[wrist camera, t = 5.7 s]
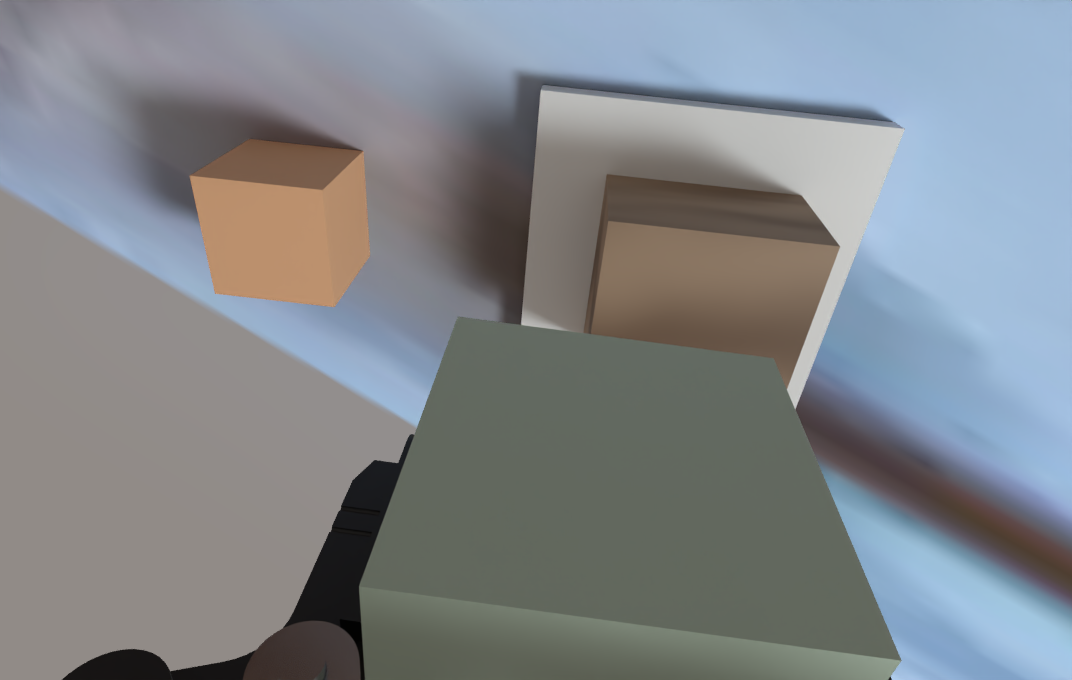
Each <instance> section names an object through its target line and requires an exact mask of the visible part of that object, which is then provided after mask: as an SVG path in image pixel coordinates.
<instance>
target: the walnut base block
mask: <svg viewBox="0 0 1072 680" xmlns="http://www.w3.org/2000/svg"><path fill="white" fill-rule="evenodd" d="M839 249H840V246H839V244H838V243H837V242H836V240H835V239H834V238H833V236H832V235H831V234H830V232H829V231H828V230H827V228H826V227H825V226H824V224H823V223H822V222H821V220H820V219H819V218H818V216H817V215H816V214H815V212H814V211H813V210H812V208H811V207H810V206H809V204H808V203H807V202H806V200H805V199H804V198H803V196H802V195H793V194H784V193H775V192H766V191H757V190H747V189H738V188H729V187H720V186H711V185H702V184H692V183H683V182H674V181H665V180H656V179H647V178H637V177H628V176H619V175H610V174H607V176H606V183H605V190H604V196H603V203H602V210H601V217H600V224H599V230H598V237H597V244H596V251H595V258H594V264H593V271H592V278H591V285H590V291H589V298H588V305H587V312H586V319H585V325H584V332H583V333H586V334H593V335H601V336H608V337H616V338H624V339H631V340H639V341H646V342H654V343H661V344H669V345H677V346H684V347H692V348H699V349H707V350H714V351H722V352H729V353H737V354H745V355H752V356H760V357H767V358H774V360H775V363H776V365H777V368H778V370H779V372H780V375H781V377H782V379H783V382H784V384H785V387H786V389H787V388H788V385H789V383H790V380H791V377H792V375H793V372H794V369H795V367H796V364H797V361H798V358H799V356H800V353H801V350H802V348H803V345H804V342H805V340H806V337H807V334H808V332H809V329H810V326H811V324H812V321H813V318H814V316H815V313H816V310H817V308H818V305H819V302H820V300H821V297H822V294H823V292H824V289H825V286H826V284H827V281H828V278H829V276H830V273H831V270H832V267H833V265H834V262H835V259H836V257H837V254H838V251H839Z"/></svg>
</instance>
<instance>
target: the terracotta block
mask: <svg viewBox="0 0 1072 680" xmlns="http://www.w3.org/2000/svg"><path fill="white" fill-rule="evenodd" d="M190 180H191V185H192V189H193V194H194V199H195V203H196V208H197V212H198V217H199V222H200V226H201V231H202V236H203V240H204V245H205V249H206V254H207V259H208V263H209V268H210V272H211V277H212V282H213V286H214V291H215V294H223V295H232V296H241V297H250V298H259V299H267V300H276V301H285V302H294V303H303V304H312V305H321V306H329V307H335V306H336V304H337V303H338V301H339V300H340V298H341V297H342V295H343V294H344V293H345V291H346V290H347V288H348V287H349V285H350V284H351V282H352V281H353V280H354V278H355V277H356V275H357V274H358V272H359V271H360V269H361V268H362V267H363V265H364V264H365V262H366V261H367V259H368V258H369V256H370V248H369V232H368V217H367V202H366V186H365V171H364V155H363V151H358V150H348V149H339V148H330V147H320V146H311V145H302V144H293V143H283V142H274V141H265V140H255V139H249V140H247V141H245V142H244V143H242V144H241V145H239V146H237V147H236V148H234V149H232V150H231V151H229V152H227V153H226V154H224V155H223V156H221V157H219V158H218V159H216V160H214V161H213V162H211V163H209V164H208V165H206V166H205V167H203V168H201V169H200V170H198V171H196V172H195V173H193V174H191V175H190Z"/></svg>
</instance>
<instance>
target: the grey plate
mask: <svg viewBox="0 0 1072 680" xmlns="http://www.w3.org/2000/svg"><path fill="white" fill-rule="evenodd" d="M904 130H905V129H904V128H903V127H901V126H900V125H898V124H897V123H895V122H888V121H879V120H869V119H860V118H850V117H841V116H832V115H822V114H813V113H803V112H794V111H784V110H775V109H766V108H756V107H747V106H737V105H728V104H719V103H709V102H700V101H690V100H681V99H671V98H662V97H653V96H643V95H634V94H624V93H615V92H606V91H596V90H587V89H577V88H568V87H558V86H549V85H542V88H541V93H540V105H539V117H538V129H537V140H536V152H535V164H534V176H533V188H532V200H531V212H530V224H529V236H528V248H527V260H526V272H525V284H524V296H523V307H522V319H521V325H525V326H533V327H540V328H548V329H556V330H563V331H571V332H578V333H583V332H584V325H585V319H586V312H587V305H588V298H589V291H590V285H591V278H592V271H593V264H594V258H595V251H596V244H597V237H598V230H599V224H600V217H601V210H602V203H603V196H604V190H605V183H606V176H607V174H610V175H619V176H628V177H637V178H647V179H656V180H665V181H674V182H683V183H692V184H702V185H711V186H720V187H729V188H738V189H747V190H757V191H766V192H775V193H784V194H793V195H802V196H803V198H804V199H805V200H806V202H807V203H808V204H809V206H810V207H811V208H812V210H813V211H814V212H815V214H816V215H817V216H818V218H819V219H820V220H821V222H822V223H823V224H824V226H825V227H826V228H827V230H828V231H829V232H830V234H831V235H832V236H833V238H834V239H835V240H836V242H837V243H838V244H839V246H840V249H839V251H838V254H837V257H836V259H835V262H834V265H833V267H832V270H831V273H830V276H829V278H828V281H827V284H826V286H825V289H824V292H823V294H822V297H821V300H820V302H819V305H818V308H817V310H816V313H815V316H814V318H813V321H812V324H811V326H810V329H809V332H808V334H807V337H806V340H805V342H804V345H803V348H802V350H801V353H800V356H799V358H798V361H797V364H796V367H795V369H794V372H793V375H792V377H791V380H790V383H789V385H788V388H787V391H788V394H789V396H790V398H791V401H792V403H793V405H794V408H795V409H796V406H797V403H798V401H799V398H800V396H801V393H802V391H803V388H804V386H805V383H806V380H807V378H808V375H809V373H810V370H811V368H812V365H813V363H814V360H815V357H816V355H817V352H818V350H819V347H820V345H821V342H822V339H823V337H824V334H825V332H826V329H827V327H828V324H829V322H830V319H831V316H832V314H833V311H834V309H835V306H836V304H837V301H838V299H839V296H840V293H841V291H842V288H843V286H844V283H845V281H846V278H847V276H848V273H849V270H850V268H851V265H852V263H853V260H854V258H855V255H856V252H857V250H858V247H859V245H860V242H861V240H862V237H863V235H864V232H865V229H866V227H867V224H868V222H869V219H870V217H871V214H872V212H873V209H874V206H875V204H876V201H877V199H878V196H879V194H880V191H881V189H882V186H883V183H884V181H885V178H886V176H887V173H888V171H889V168H890V165H891V163H892V160H893V158H894V155H895V153H896V150H897V148H898V145H899V142H900V140H901V137H902V135H903V132H904Z"/></svg>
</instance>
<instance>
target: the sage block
mask: <svg viewBox="0 0 1072 680" xmlns="http://www.w3.org/2000/svg"><path fill="white" fill-rule="evenodd" d="M359 595H360V610H361V626H362V641H363V657H364V672H365V680H888V679H889V678H890V676H891V675H892V673H893V672H894V671H895V669H896V668H897V666H898V665H899V664H900V662H901V658H900V656H899V654H898V651H897V649H896V647H895V644H894V642H893V640H892V637H891V635H890V632H889V630H888V628H887V625H886V623H885V621H884V618H883V616H882V614H881V611H880V609H879V606H878V604H877V602H876V599H875V597H874V595H873V592H872V590H871V588H870V585H869V583H868V580H867V578H866V576H865V573H864V571H863V569H862V566H861V564H860V562H859V559H858V557H857V554H856V552H855V550H854V547H853V545H852V543H851V540H850V538H849V536H848V533H847V531H846V528H845V526H844V524H843V521H842V519H841V517H840V514H839V512H838V509H837V507H836V505H835V502H834V500H833V498H832V495H831V493H830V491H829V488H828V486H827V483H826V481H825V479H824V476H823V474H822V472H821V469H820V467H819V465H818V462H817V460H816V457H815V455H814V453H813V450H812V448H811V446H810V443H809V441H808V439H807V436H806V434H805V431H804V429H803V427H802V424H801V422H800V420H799V417H798V415H797V413H796V410H795V408H794V405H793V403H792V401H791V398H790V396H789V394H788V391H787V389H786V387H785V384H784V382H783V379H782V377H781V375H780V372H779V370H778V368H777V365H776V363H775V360H774V358H767V357H760V356H752V355H745V354H737V353H729V352H722V351H714V350H707V349H699V348H692V347H684V346H677V345H669V344H661V343H654V342H646V341H639V340H631V339H624V338H616V337H608V336H601V335H593V334H586V333H578V332H571V331H563V330H556V329H548V328H540V327H533V326H525V325H518V324H510V323H503V322H495V321H487V320H480V319H472V318H465V317H458V318H457V320H456V323H455V326H454V328H453V331H452V334H451V337H450V339H449V342H448V345H447V348H446V350H445V353H444V356H443V358H442V361H441V364H440V367H439V369H438V372H437V375H436V378H435V380H434V383H433V386H432V388H431V391H430V394H429V397H428V399H427V402H426V405H425V408H424V410H423V413H422V416H421V418H420V421H419V424H418V427H417V429H416V432H415V435H414V438H413V440H412V443H411V446H410V448H409V451H408V454H407V457H406V459H405V462H404V465H403V468H402V470H401V473H400V476H399V478H398V481H397V484H396V487H395V489H394V492H393V495H392V498H391V500H390V503H389V506H388V509H387V511H386V514H385V517H384V519H383V522H382V525H381V528H380V530H379V533H378V536H377V539H376V541H375V544H374V547H373V549H372V552H371V555H370V558H369V560H368V563H367V566H366V569H365V571H364V574H363V577H362V579H361V582H360V585H359Z"/></svg>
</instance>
